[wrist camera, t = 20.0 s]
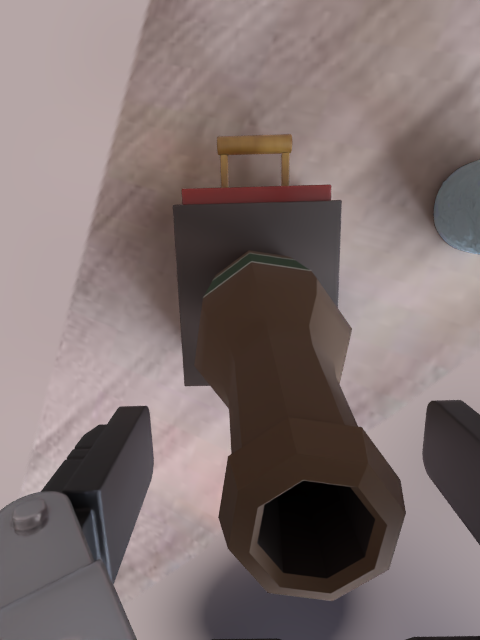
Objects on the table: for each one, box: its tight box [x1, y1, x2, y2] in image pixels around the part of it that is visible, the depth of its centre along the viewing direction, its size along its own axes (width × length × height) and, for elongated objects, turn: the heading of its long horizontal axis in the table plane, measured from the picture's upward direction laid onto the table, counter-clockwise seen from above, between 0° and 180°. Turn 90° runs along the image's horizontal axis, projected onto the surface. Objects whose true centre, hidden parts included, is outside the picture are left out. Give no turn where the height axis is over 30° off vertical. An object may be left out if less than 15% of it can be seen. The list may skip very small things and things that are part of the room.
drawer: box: [182, 134, 331, 205], centre depth 34 cm, size 18×11×8 cm, turn 1°
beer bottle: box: [194, 251, 406, 601], centre depth 19 cm, size 8×8×24 cm
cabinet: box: [173, 200, 342, 386], centre depth 35 cm, size 15×13×10 cm
